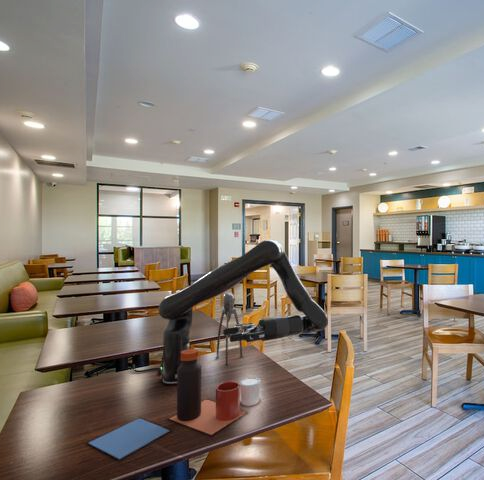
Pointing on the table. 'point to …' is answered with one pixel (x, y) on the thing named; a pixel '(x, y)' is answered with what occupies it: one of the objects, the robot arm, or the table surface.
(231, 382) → the red cup
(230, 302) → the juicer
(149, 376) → the table surface
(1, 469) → the table surface
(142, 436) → the blue mat
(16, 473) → the table surface
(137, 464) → the table surface
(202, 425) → the terracotta mat
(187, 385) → the bottle
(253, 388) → the grey and white cylinder
